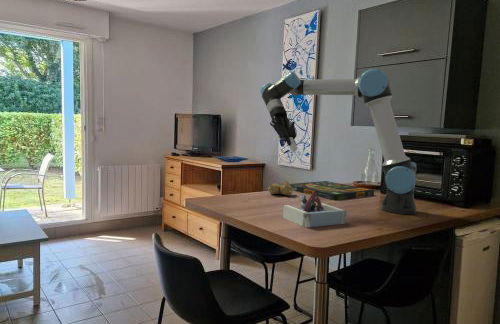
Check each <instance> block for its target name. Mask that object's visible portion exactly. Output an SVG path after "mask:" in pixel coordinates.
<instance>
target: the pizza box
mask: <svg viewBox="0 0 500 324" xmlns="http://www.w3.org/2000/svg"><path fill="white" fill-rule="evenodd" d="M289 184H290V185H291V187H293V192H297V193H302V194H304V195H310V196H311V195H312V193H313V192H314V191H315V192H316V194H317V196H318V198H323V199H327V200H331V201H340V200H347V199H356V198H363V197H370V196H371V197H372V196H374V194H375V189H370V188H365V187H359V186H353V185H350V184H345V183H344V184H343V183H339V182H338V183H337V182H333V181H328V180H323V181H321V180H320V181H310V182H296V183H295V182H294V183H289Z"/></svg>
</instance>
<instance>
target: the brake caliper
mask: <svg viewBox="0 0 500 324" xmlns="http://www.w3.org/2000/svg"><path fill="white" fill-rule="evenodd" d="M299 200H300V201H301V204H300V210H303V211H305V212H319V211H324V207H323V206H321V205H322V204H321V203H322V201H321V199H320V197H318V196H317V194H316V192H315V191H314V192H313V193H312V195H310V197H309V198H308V199H307V196H306V194H301V196H300V197H299Z"/></svg>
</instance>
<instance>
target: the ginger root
mask: <svg viewBox="0 0 500 324" xmlns="http://www.w3.org/2000/svg"><path fill="white" fill-rule="evenodd" d="M290 184H291V183H289V182H288V181H286V180H284V182H283V185H281V184H278V183H275V182H274V183H273V184H270V185H269V187H268V188H267V190H268V192H269V193H270V194H271V195H277V194H278V195H282V196H288V197H290V196H291V195H292V194H293V192H294V191H293V187H291V185H290Z"/></svg>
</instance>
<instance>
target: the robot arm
mask: <svg viewBox="0 0 500 324" xmlns="http://www.w3.org/2000/svg"><path fill="white" fill-rule="evenodd" d="M260 94H261V97H262V100H263V102H264V104H265V106H266V109H267V111H268V113H269V116H270V118H271V121H270V122H269V125H270V126H271V127H272V128H273V129H274V130H275V132H276V134H277V136H278V137H279V138H280V139H281V140H283V142H284V143H285V142H286V144H287V146H288V147H289V150H290V152H291V153H296V151H298V146H297V142H296V141H295V139H296V138H297V137H298V136H297V132H296V127H295V126H296V125H295V124H296V122H295V121H290V118H289V117H288V112H287V111H286V108H285V106H284V104H283V101H282V100H281V99H282V98H284V97H285V96H286V95H288V94H290V95H292V96H305V95H306V96H310V95H311V96H356V97H357V98H363V102H364V106H367V107H368V108H369V110H370V115H371V118H372V121H373V125H374V128H375V132H376V135H377V138H378V142H379V146H380V149H381V153H382V157H383V160H384V161H383V163H382V164H381V166H382V170H383V174H384V181H385V186H386V194H385V196H384V198H383V200H382V202H381V210H383V211H385V212H388V213H391V214H392V213H393V214H399V215H415V214H417V209H418V208H417V205H416V204H417V203H416V200H415V196H414V195H415V193H414V192H415V187H416V183H417V178H416V177H417V176H416V174H417V171H418V170H417V163H416V162H414V161H412V160H411V158H410V157H408V156H407V155H406V153H405V149H404V147H403V143H402V140H401V136H400V133H399V128H398V125H397V122H396V119H395V115H394V111H393V109H392V104H391V100H392V98H393V95H392V91H391V87H390V81H389V79H388V76H387V74H386V72H384V71H383V70H381V69H378V68H370V69H368V70H365V71H364V72H363V73H362V74H361V75H360V76H358V77H357V78H342V79H340V78H339V79H337V78H335V79H333V78H332V79H331V78H329V79H323V78H322V79H319V78H318V79H300V77H299V76H298V75H297V73H295V72H294V71H290V72H288V73H286V74H285V75H284V76H283V77H282V78H279V80H277V81H276V82H274V83H272V82H271V83H269V82H268V83H267V84H266V83H265V84H264V85H263V86H261V89H260Z"/></svg>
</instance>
